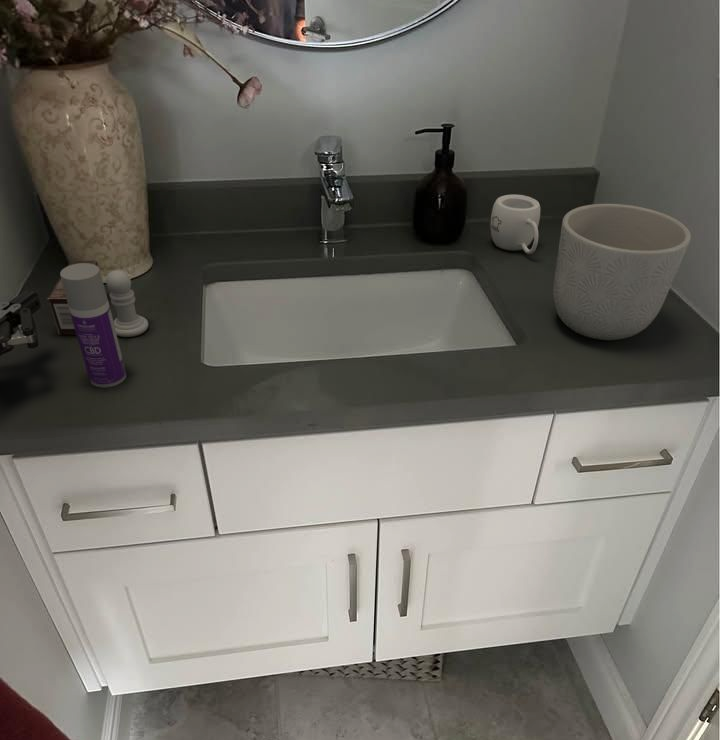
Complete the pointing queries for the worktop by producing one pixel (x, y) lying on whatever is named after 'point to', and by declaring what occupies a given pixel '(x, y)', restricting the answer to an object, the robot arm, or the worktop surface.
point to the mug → (515, 222)
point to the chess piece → (124, 305)
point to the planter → (615, 268)
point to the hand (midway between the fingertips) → (33, 298)
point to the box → (63, 306)
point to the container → (93, 324)
